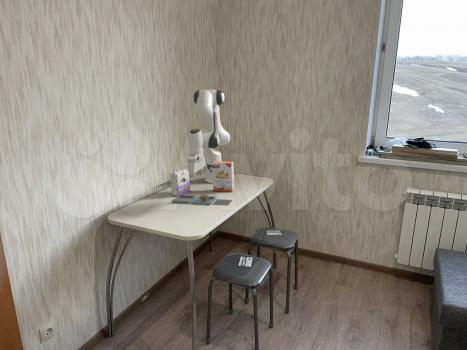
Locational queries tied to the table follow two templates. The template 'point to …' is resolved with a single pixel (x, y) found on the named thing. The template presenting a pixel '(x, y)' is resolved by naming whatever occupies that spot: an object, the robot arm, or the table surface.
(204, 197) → the letter cube
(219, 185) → the cracker box
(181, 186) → the candy box
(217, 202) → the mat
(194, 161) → the robot arm
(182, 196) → the charcoal tray
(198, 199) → the slate tray
